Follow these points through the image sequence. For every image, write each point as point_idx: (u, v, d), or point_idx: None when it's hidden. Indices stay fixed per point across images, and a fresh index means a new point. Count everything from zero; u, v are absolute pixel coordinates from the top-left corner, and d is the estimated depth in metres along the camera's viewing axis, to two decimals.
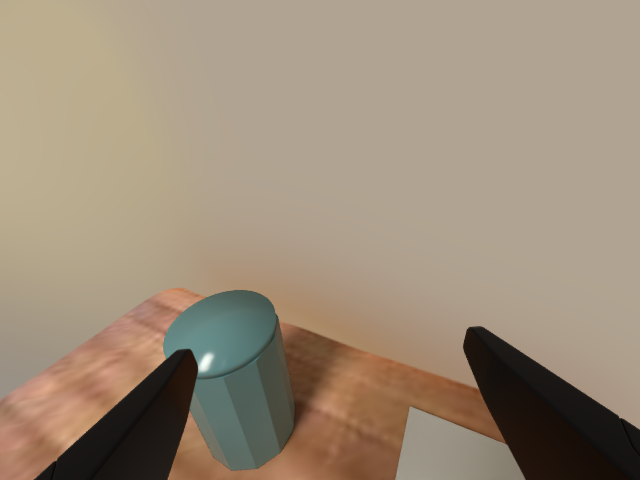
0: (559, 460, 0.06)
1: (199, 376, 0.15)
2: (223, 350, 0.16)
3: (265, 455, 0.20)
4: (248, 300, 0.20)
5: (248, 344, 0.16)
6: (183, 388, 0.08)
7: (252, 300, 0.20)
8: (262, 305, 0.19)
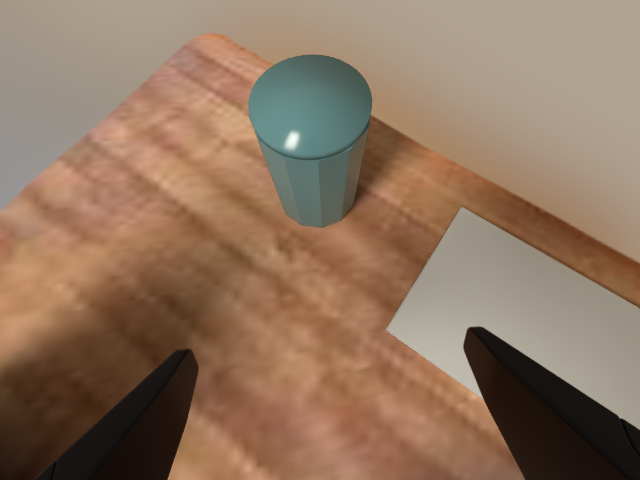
0: (560, 460, 0.06)
1: (294, 156, 0.15)
2: (317, 133, 0.15)
3: (330, 220, 0.24)
4: (337, 73, 0.16)
5: (343, 130, 0.15)
6: (183, 388, 0.08)
7: (342, 74, 0.16)
8: (355, 83, 0.16)
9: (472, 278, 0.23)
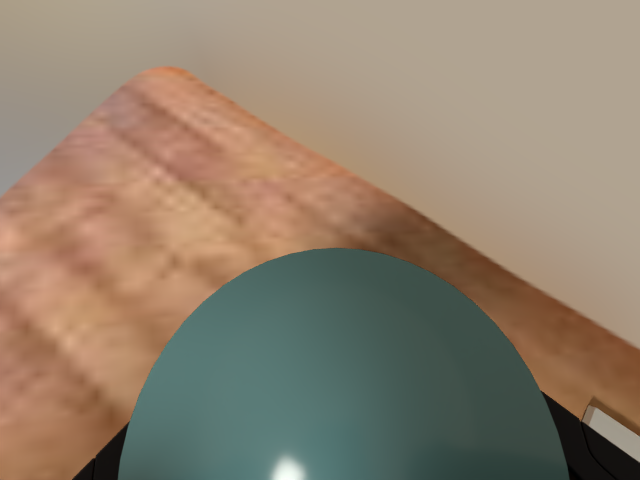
0: None
1: None
2: None
3: None
4: (426, 329, 0.05)
5: None
6: None
7: (444, 334, 0.05)
8: (493, 379, 0.05)
9: None
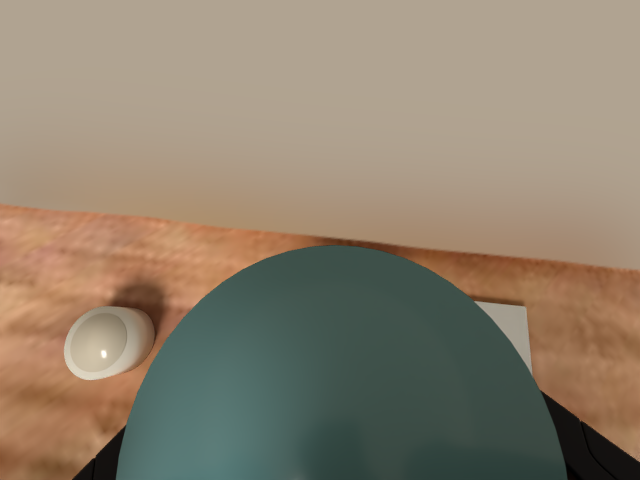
0: None
1: None
2: None
3: None
4: (424, 326, 0.05)
5: None
6: None
7: (442, 330, 0.05)
8: (491, 376, 0.05)
9: None
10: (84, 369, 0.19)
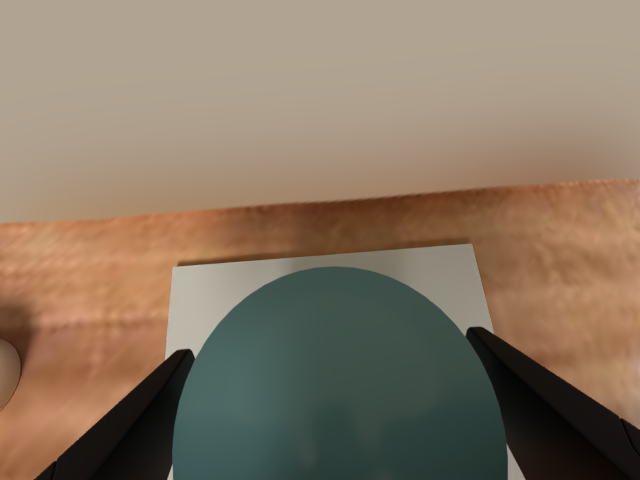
0: (559, 460, 0.06)
1: None
2: None
3: None
4: (403, 329, 0.06)
5: None
6: None
7: (417, 333, 0.06)
8: (453, 367, 0.06)
9: None
10: None
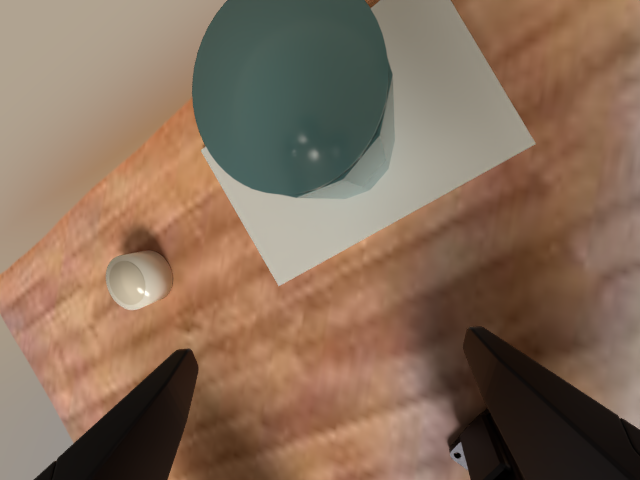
0: (559, 459, 0.06)
1: (308, 191, 0.10)
2: (320, 141, 0.09)
3: (377, 180, 0.18)
4: (293, 2, 0.09)
5: (356, 113, 0.09)
6: (183, 388, 0.08)
7: None
8: (332, 3, 0.08)
9: None
10: (134, 303, 0.24)
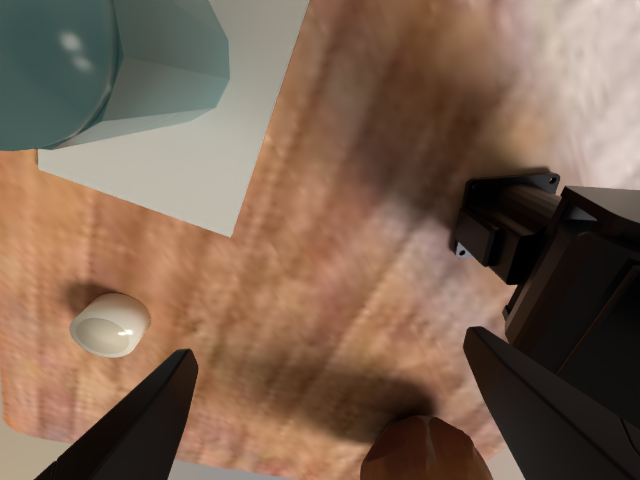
0: (559, 460, 0.06)
1: (101, 101, 0.07)
2: (41, 19, 0.06)
3: (224, 60, 0.15)
4: None
5: None
6: (183, 388, 0.08)
7: None
8: None
9: (130, 150, 0.18)
10: (126, 346, 0.23)
